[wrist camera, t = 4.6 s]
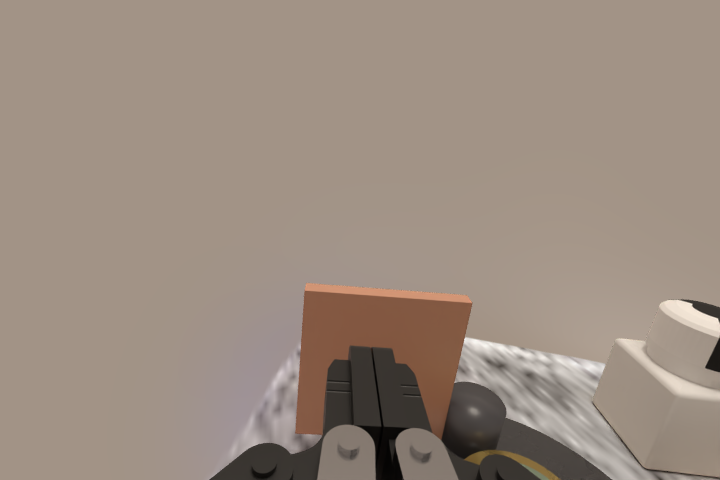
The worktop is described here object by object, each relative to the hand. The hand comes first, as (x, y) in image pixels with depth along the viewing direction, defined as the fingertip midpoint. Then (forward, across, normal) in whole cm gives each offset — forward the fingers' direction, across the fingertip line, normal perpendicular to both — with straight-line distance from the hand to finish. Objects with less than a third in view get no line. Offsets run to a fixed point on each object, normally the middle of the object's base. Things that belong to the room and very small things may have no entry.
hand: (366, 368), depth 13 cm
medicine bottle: (+12, -27, +14) cm, 33 cm away
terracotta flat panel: (+9, -4, +12) cm, 15 cm away
